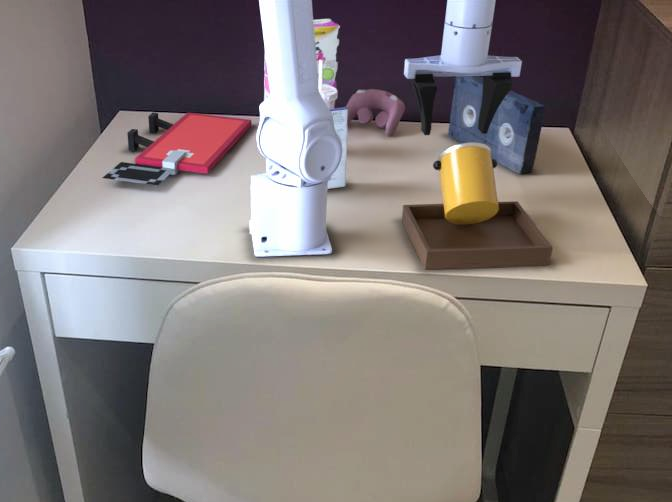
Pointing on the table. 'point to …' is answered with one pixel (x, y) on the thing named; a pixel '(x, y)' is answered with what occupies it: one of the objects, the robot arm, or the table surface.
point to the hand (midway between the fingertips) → (454, 131)
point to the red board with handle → (180, 147)
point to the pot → (468, 183)
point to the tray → (475, 238)
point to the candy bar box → (320, 53)
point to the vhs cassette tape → (498, 124)
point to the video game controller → (378, 100)
